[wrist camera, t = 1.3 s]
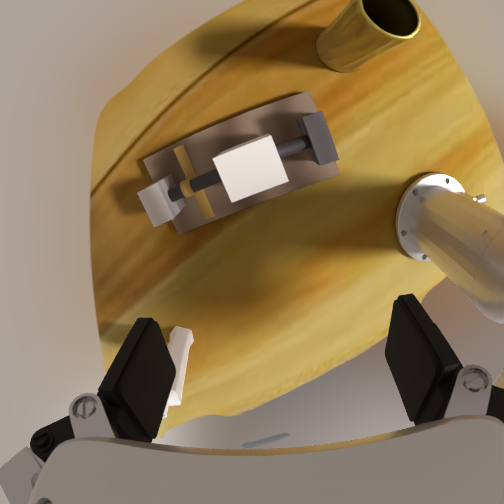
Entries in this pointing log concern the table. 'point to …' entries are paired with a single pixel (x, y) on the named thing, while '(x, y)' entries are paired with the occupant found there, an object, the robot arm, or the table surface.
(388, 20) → the vase
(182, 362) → the perfume bottle
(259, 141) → the notched white rod block
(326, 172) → the linear slide rail
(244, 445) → the table surface
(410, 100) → the table surface
